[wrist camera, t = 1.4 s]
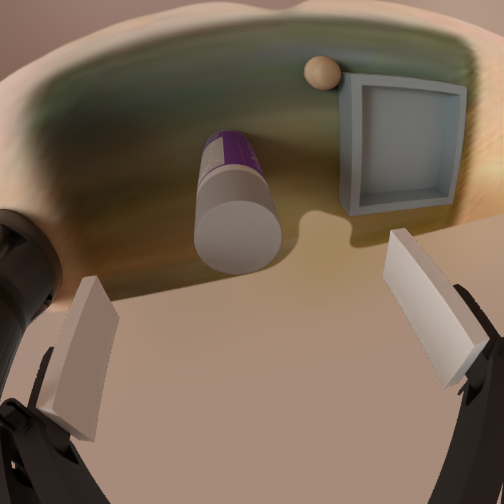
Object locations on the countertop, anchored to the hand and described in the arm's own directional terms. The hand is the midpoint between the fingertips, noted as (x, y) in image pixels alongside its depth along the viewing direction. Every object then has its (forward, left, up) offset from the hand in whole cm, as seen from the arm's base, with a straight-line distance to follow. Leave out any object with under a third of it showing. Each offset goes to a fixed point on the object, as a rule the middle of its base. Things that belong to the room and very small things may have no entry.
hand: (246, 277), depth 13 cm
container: (0, 0, -18) cm, 18 cm away
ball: (+9, +7, -18) cm, 21 cm away
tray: (+18, 0, -18) cm, 25 cm away
